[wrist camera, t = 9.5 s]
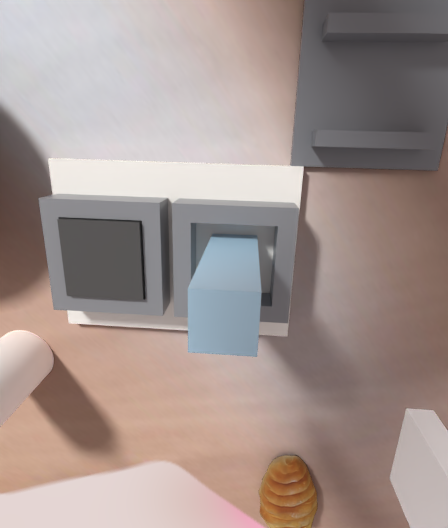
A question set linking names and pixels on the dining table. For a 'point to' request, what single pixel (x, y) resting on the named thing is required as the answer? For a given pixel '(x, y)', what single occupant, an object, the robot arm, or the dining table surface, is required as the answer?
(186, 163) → the port panel
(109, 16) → the dining table surface
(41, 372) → the candle
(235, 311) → the plug
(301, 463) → the pastry
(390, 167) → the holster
